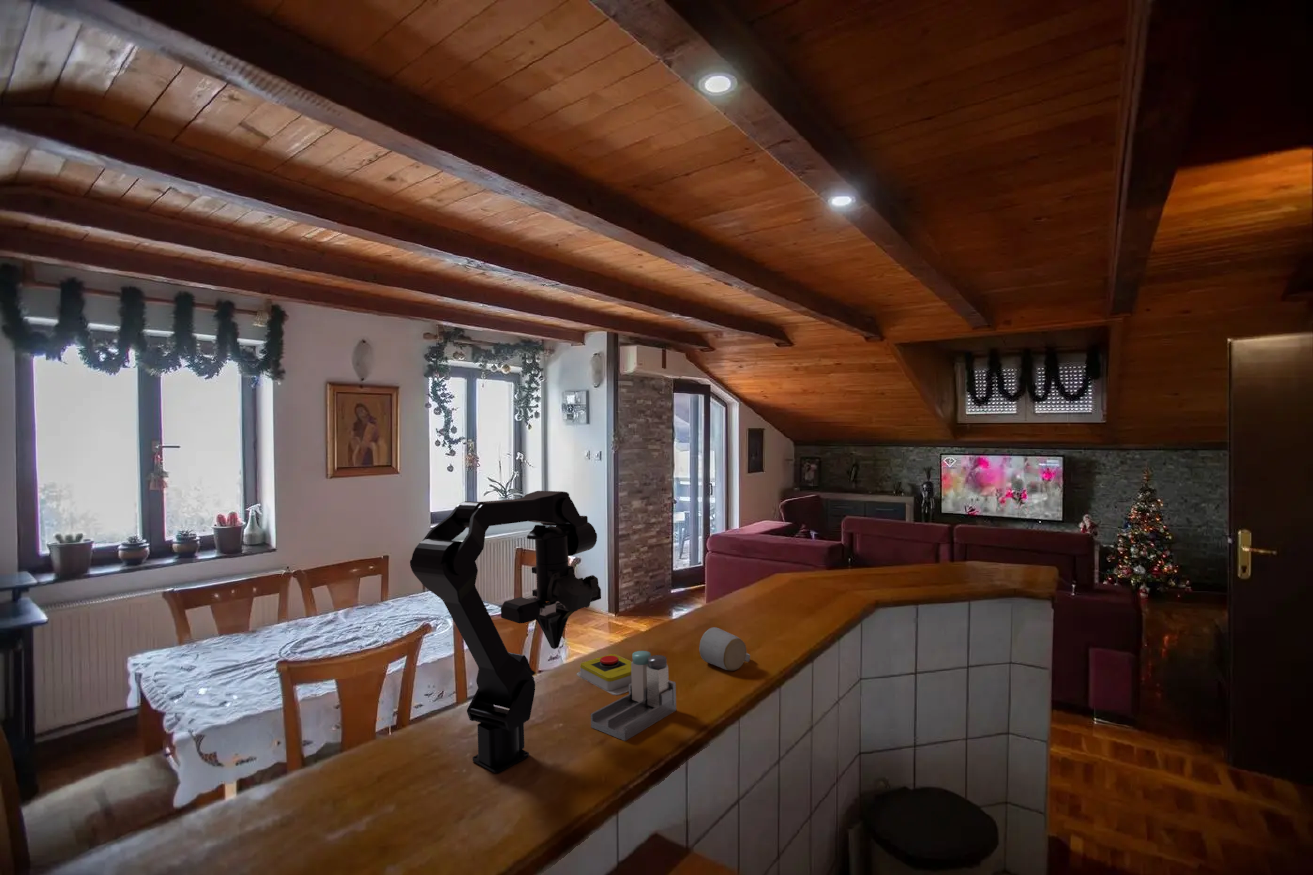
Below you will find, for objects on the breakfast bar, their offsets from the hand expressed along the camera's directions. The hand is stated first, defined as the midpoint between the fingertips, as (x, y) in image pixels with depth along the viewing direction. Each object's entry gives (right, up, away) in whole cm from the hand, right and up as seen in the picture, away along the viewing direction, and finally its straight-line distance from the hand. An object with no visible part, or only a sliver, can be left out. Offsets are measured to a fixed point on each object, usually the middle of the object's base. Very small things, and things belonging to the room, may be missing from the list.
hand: (554, 648), depth 110 cm
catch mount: (+14, -13, 0) cm, 19 cm away
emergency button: (+9, -14, +19) cm, 25 cm away
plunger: (+16, -11, +5) cm, 20 cm away
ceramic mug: (+34, -12, +25) cm, 44 cm away
